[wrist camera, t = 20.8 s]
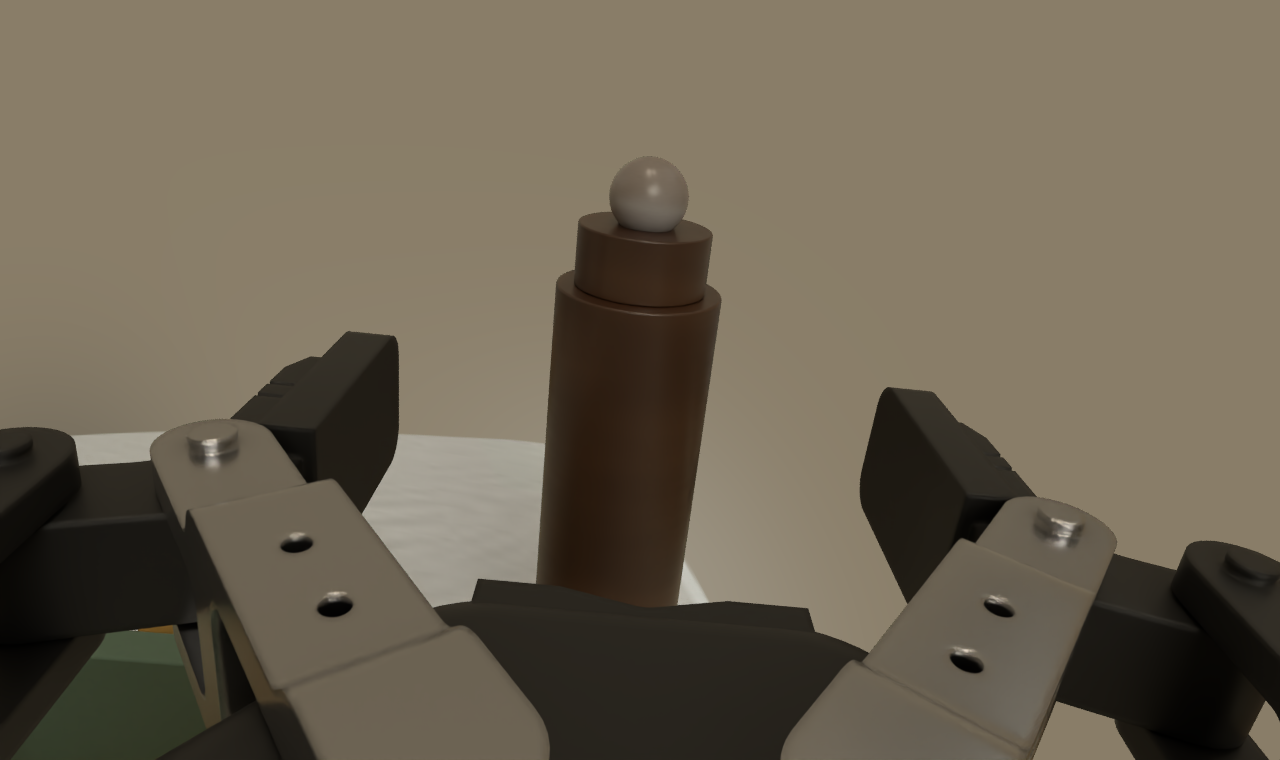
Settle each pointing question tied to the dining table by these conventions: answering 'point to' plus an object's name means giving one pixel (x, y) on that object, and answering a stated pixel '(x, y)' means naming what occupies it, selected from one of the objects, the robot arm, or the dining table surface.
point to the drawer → (121, 704)
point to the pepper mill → (628, 393)
